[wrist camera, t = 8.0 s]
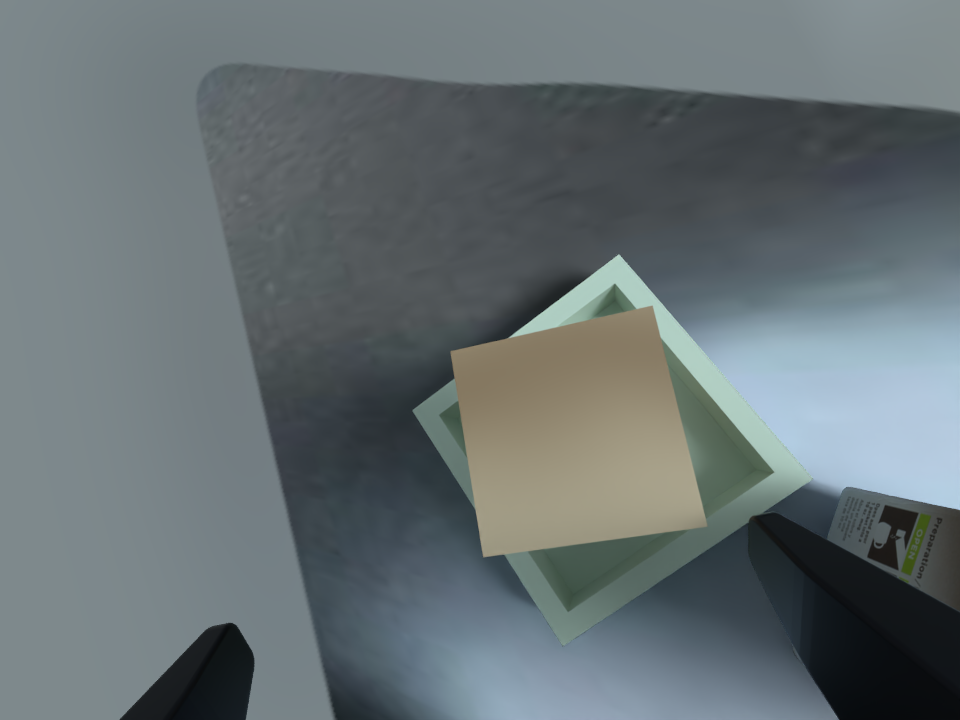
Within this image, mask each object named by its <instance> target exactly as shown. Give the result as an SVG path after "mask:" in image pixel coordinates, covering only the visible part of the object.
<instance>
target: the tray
mask: <svg viewBox="0 0 960 720" xmlns="http://www.w3.org/2000/svg"><path fill="white" fill-rule="evenodd" d="M648 306H653V309H654V313H655V317H656V321H657V325H658V329H659V333H660V337H661V341H662V345H663V349H664V353H665V357H666V361H667V365H668V369H669V373H670V377H671V381H672V385H673V389H674V393H675V397H676V401H677V405H678V409H679V413H680V417H681V421H682V425H683V429H684V433H685V437H686V441H687V445H688V449H689V453H690V457H691V461H692V465H693V469H694V473H695V477H696V481H697V485H698V489H699V493H700V497H701V501H702V506H703V510H704V514H705V518H706V522H707V526H708V527H702V528H694V529H687V530H680V531H672V532H665V533H658V534H650V535H643V536H636V537H628V538H621V539H614V540H606V541H599V542H592V543H584V544H577V545H570V546H562V547H555V548H548V549H540V550H533V551H526V552H518V553H511V554H504V555H505V557H506V558H507V560H508V561H509V563H510V565H511V566H512V568H513V569H514V571H515V572H516V574H517V576H518V577H519V579H520V580H521V582H522V583H523V585H524V587H525V588H526V590H527V591H528V593H529V594H530V596H531V598H532V599H533V601H534V602H535V604H536V605H537V607H538V609H539V610H540V612H541V613H542V615H543V616H544V618H545V619H546V621H547V623H548V624H549V626H550V627H551V629H552V630H553V632H554V634H555V635H556V637H557V638H558V640H559V641H560V643H561V645H562V646H565V645H566V644H568V643H569V642H571V641H572V640H574V639H575V638H576V637H578V636H579V635H581V634H582V633H584V632H585V631H587V630H588V629H590V628H591V627H593V626H594V625H596V624H597V623H599V622H600V621H602V620H603V619H605V618H606V617H608V616H609V615H611V614H612V613H614V612H615V611H617V610H618V609H620V608H621V607H623V606H624V605H626V604H627V603H629V602H630V601H632V600H633V599H635V598H636V597H638V596H639V595H641V594H642V593H644V592H645V591H647V590H648V589H650V588H651V587H653V586H654V585H656V584H657V583H659V582H660V581H662V580H663V579H665V578H666V577H668V576H669V575H671V574H672V573H674V572H675V571H677V570H678V569H680V568H681V567H683V566H684V565H686V564H687V563H689V562H690V561H692V560H693V559H694V558H696V557H697V556H699V555H700V554H702V553H703V552H705V551H706V550H708V549H709V548H711V547H712V546H714V545H715V544H717V543H718V542H720V541H721V540H723V539H724V538H726V537H727V536H729V535H730V534H732V533H733V532H735V531H736V530H738V529H739V528H741V527H742V526H744V525H745V524H747V523H748V522H749V519H750V517H751V516H753V515H757V514H762V513H763V512H765V511H766V510H768V509H769V508H771V507H772V506H774V505H775V504H777V503H778V502H780V501H781V500H783V499H784V498H786V497H787V496H789V495H790V494H792V493H793V492H795V491H796V490H798V489H799V488H801V487H802V486H804V485H805V484H807V483H808V482H809V481H811V480H812V479H813V478H812V477H811V476H810V475H809V473H808V472H807V471H806V470H805V469H804V468H803V466H802V465H801V464H800V463H799V462H798V461H797V460H796V458H795V457H794V456H793V455H792V454H791V453H790V451H789V450H788V449H787V448H786V447H785V446H784V444H783V443H782V442H781V441H780V440H779V439H778V438H777V436H776V435H775V434H774V433H773V432H772V431H771V429H770V428H769V427H768V426H767V425H766V424H765V423H764V421H763V420H762V419H761V418H760V417H759V416H758V414H757V413H756V412H755V411H754V410H753V409H752V407H751V406H750V405H749V404H748V403H747V402H746V401H745V399H744V398H743V397H742V396H741V395H740V394H739V392H738V391H737V390H736V389H735V388H734V387H733V386H732V384H731V383H730V382H729V381H728V380H727V379H726V377H725V376H724V375H723V374H722V373H721V372H720V371H719V369H718V368H717V367H716V366H715V365H714V364H713V362H712V361H711V360H710V359H709V358H708V357H707V355H706V354H705V353H704V352H703V351H702V350H701V349H700V347H699V346H698V345H697V344H696V343H695V342H694V340H693V339H692V338H691V337H690V336H689V335H688V334H687V332H686V331H685V330H684V329H683V328H682V327H681V325H680V324H679V323H678V322H677V321H676V320H675V318H674V317H673V316H672V315H671V314H670V313H669V312H668V310H667V309H666V308H665V307H664V306H663V305H662V303H661V302H660V301H659V300H658V299H657V298H656V297H655V295H654V294H653V293H652V292H651V291H650V290H649V288H648V287H647V286H646V285H645V284H644V283H643V281H642V280H641V279H640V278H639V277H638V276H637V275H636V273H635V272H634V271H633V270H632V269H631V268H630V266H629V265H628V264H627V263H626V262H625V261H624V260H623V258H622V257H621V256H620V255H618V256H616V257H615V258H614V259H612V260H611V261H610V262H608V263H607V264H606V265H604V266H603V267H602V268H601V269H599V270H598V271H597V272H595V273H594V274H593V275H591V276H590V277H589V278H587V279H586V280H585V281H583V282H582V283H581V284H579V285H578V286H577V287H575V288H574V289H573V290H571V291H570V292H569V293H567V294H566V295H565V296H563V297H562V298H561V299H559V300H558V301H557V302H555V303H554V304H553V305H551V306H550V307H549V308H547V309H546V310H545V311H543V312H542V313H541V314H539V315H538V316H537V317H536V318H534V319H533V320H532V321H530V322H529V323H528V324H526V325H525V326H524V327H522V328H521V329H520V330H518V331H517V332H516V333H514V334H513V335H512V336H510V337H509V338H511V337H516V336H520V335H525V334H529V333H534V332H538V331H542V330H547V329H551V328H556V327H560V326H564V325H569V324H573V323H578V322H582V321H586V320H591V319H595V318H600V317H604V316H608V315H613V314H617V313H622V312H626V311H631V310H635V309H639V308H644V307H648ZM412 411H413V413H414V414H415V416H416V417H417V419H418V420H419V422H420V424H421V425H422V427H423V428H424V430H425V431H426V433H427V435H428V436H429V438H430V439H431V441H432V442H433V444H434V446H435V447H436V449H437V450H438V452H439V453H440V455H441V456H442V458H443V460H444V461H445V463H446V464H447V466H448V467H449V469H450V471H451V472H452V474H453V475H454V477H455V478H456V480H457V482H458V483H459V485H460V486H461V488H462V489H463V491H464V493H465V494H466V496H467V497H468V499H469V500H470V502H471V504H472V505H473V507H474V508H475V503H474V496H473V490H472V484H471V478H470V471H469V465H468V459H467V452H466V446H465V440H464V434H463V427H462V421H461V415H460V408H459V402H458V396H457V390H456V383H455V379H453V380H452V381H451V382H449V383H448V384H447V385H445V386H444V387H443V388H441V389H440V390H439V391H437V392H436V393H435V394H433V395H432V396H431V397H429V398H428V399H427V400H425V401H424V402H423V403H421V404H420V405H419V406H417V407H416V408H415V409H413V410H412ZM475 510H476V509H475Z"/></svg>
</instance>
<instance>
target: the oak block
mask: <svg viewBox="0 0 960 720" xmlns="http://www.w3.org/2000/svg"><path fill="white" fill-rule="evenodd" d="M450 352H451V358H452V364H453V371H454V377H455V383H456V390H457V396H458V402H459V408H460V415H461V421H462V427H463V434H464V440H465V446H466V452H467V459H468V465H469V471H470V478H471V484H472V490H473V496H474V503H475V509H476V515H477V522H478V528H479V534H480V540H481V547H482V553H483V557H489V556H496V555H504V554H511V553H518V552H526V551H533V550H540V549H548V548H555V547H562V546H570V545H577V544H584V543H592V542H599V541H606V540H614V539H621V538H628V537H636V536H643V535H650V534H658V533H665V532H672V531H680V530H687V529H694V528H702V527H708V526H707V522H706V518H705V514H704V510H703V506H702V501H701V497H700V493H699V489H698V485H697V481H696V477H695V473H694V469H693V465H692V461H691V457H690V453H689V449H688V445H687V441H686V437H685V433H684V429H683V425H682V421H681V417H680V413H679V409H678V405H677V401H676V397H675V393H674V389H673V385H672V381H671V377H670V373H669V369H668V365H667V361H666V357H665V353H664V349H663V345H662V341H661V337H660V333H659V329H658V325H657V321H656V317H655V313H654V309H653V306H648V307H644V308H639V309H635V310H631V311H626V312H622V313H617V314H613V315H608V316H604V317H600V318H595V319H591V320H586V321H582V322H578V323H573V324H569V325H564V326H560V327H556V328H551V329H547V330H542V331H538V332H534V333H529V334H525V335H520V336H516V337H511V338H507V339H503V340H498V341H494V342H489V343H485V344H481V345H476V346H472V347H467V348H463V349H459V350H454V351H450Z"/></svg>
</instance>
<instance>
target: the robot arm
mask: <svg viewBox="0 0 960 720" xmlns="http://www.w3.org/2000/svg"><path fill="white" fill-rule="evenodd" d="M748 551H749V557H750V561H751V563H752V566H753V568H754V570H755V572H756V574H757V576H758V578H759V580H760V582H761V584H762V586H763V588H764V590H765V592H766V593H767V595H768V597H769V599H770V601H771V603H772V605H773V607H774V609H775V611H776V613H777V615H778V617H779V619H780V621H781V623H782V625H783V627H784V629H785V631H786V633H787V635H788V637H789V638H790V640H791V642H792V644H793V646H794V648H795V650H796V652H797V654H798V655H799V657H800V659H801V660H802V662H803V664H804V665H805V667H806V669H807V670H808V672H809V673H810V675H811V677H812V678H813V680H814V681H815V683H816V684H817V686H818V687H819V689H820V691H821V692H822V694H823V695H824V697H825V698H826V700H827V702H828V703H829V705H830V706H831V708H832V709H833V711H834V712H835V714H836V716H837V717H838V719H839V720H960V611H958V610H956V609H954V608H953V607H951V606H949V605H947V604H945V603H943V602H942V601H940V600H938V599H936V598H934V597H932V596H931V595H929V594H927V593H925V592H923V591H921V590H920V589H918V588H916V587H914V586H912V585H910V584H909V583H907V582H905V581H903V580H901V579H899V578H897V577H896V576H894V575H892V574H890V573H888V572H886V571H885V570H883V569H881V568H879V567H877V566H875V565H874V564H872V563H870V562H868V561H866V560H864V559H863V558H861V557H859V556H857V555H855V554H853V553H852V552H850V551H848V550H846V549H844V548H842V547H841V546H839V545H837V544H835V543H833V542H831V541H830V540H828V539H826V538H824V537H822V536H820V535H819V534H817V533H815V532H813V531H811V530H809V529H807V528H806V527H804V526H802V525H800V524H798V523H796V522H795V521H793V520H791V519H789V518H787V517H785V516H784V515H782V514H780V513H777V512H767V513H762V514H757V515H753V516H751V517H750V519H749V523H748ZM253 672H254V656H253V652H252V650H251V649H250V647H249V645H248V644H247V642H246V640H245V639H244V637H243V635H242V633H241V632H240V630H239V629H238V627H237V626H236V625H235V624H233V623H226V624H221V625H217V626H212V627H210V628H208V629H207V630H205V631H204V632H203V633H202V634H201V635H200V636H199V637H198V639H197V640H196V641H195V642H194V643H193V644H192V645H191V646H190V647H189V648H188V649H187V650H186V651H185V652H184V653H183V654H182V655H181V656H180V657H179V658H178V659H177V660H176V661H175V662H174V664H173V665H172V666H171V667H170V668H169V669H168V670H167V671H166V672H165V673H164V674H163V675H162V676H161V677H160V678H159V679H158V680H157V681H156V682H155V683H154V684H153V685H152V686H151V687H150V688H149V690H148V691H147V692H146V693H145V694H144V695H143V696H142V697H141V698H140V699H139V700H138V701H137V702H136V703H135V704H134V705H133V706H132V707H131V708H130V709H129V710H128V711H127V713H126V714H125V715H124V716H123V717H122V718H121V719H120V720H246V715H247V708H248V703H249V695H250V690H251V684H252V678H253Z"/></svg>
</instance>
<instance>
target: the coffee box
mask: <svg viewBox="0 0 960 720" xmlns="http://www.w3.org/2000/svg"><path fill="white" fill-rule="evenodd" d="M827 539H828V540H830V541H831V542H833V543H835V544H837V545H839V546H841V547H842V548H844V549H846V550H848V551H850V552H852V553H853V554H855V555H857V556H859V557H861V558H863V559H864V560H866V561H868V562H870V563H872V564H874V565H875V566H877V567H879V568H881V569H883V570H885V571H886V572H888V573H890V574H892V575H894V576H896V577H897V578H899V579H901V580H903V581H905V582H907V583H909V584H910V585H912V586H914V587H916V588H918V589H920V590H921V591H923V592H925V593H927V594H929V595H931V596H932V597H934V598H936V599H938V600H940V601H942V602H943V603H945V604H947V605H949V606H951V607H953V608H954V609H956V610H958V611H960V510H957V509H952V508H947V507H942V506H937V505H932V504H927V503H923V502H918V501H913V500H908V499H903V498H899V497H894V496H889V495H885V494H881V493H876V492H871V491H866V490H862V489H857V488H853V487H846V488H845V489H844V490H843V491H842V494H841V497H840V500H839V503H838V506H837V509H836V512H835V515H834V518H833V521H832V524H831V527H830V530H829V533H828V536H827ZM792 647H793V652H794V654H795V656H796V657H797V658H798V659H799V660H800V661H801V662H802V660H801V659H800V657H799V655H798V654H797V652H796V650H795V648H794V646H792ZM802 663H803V662H802Z"/></svg>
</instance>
